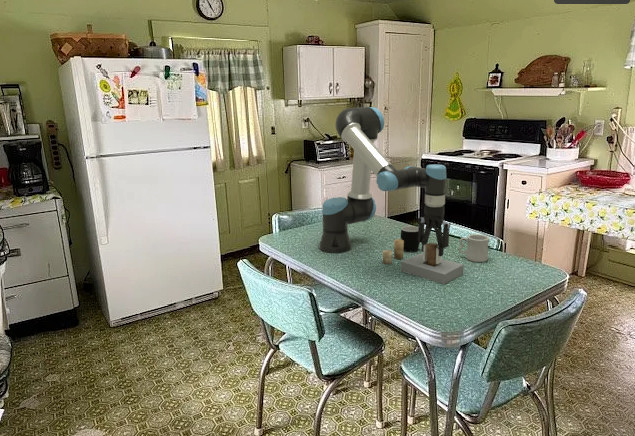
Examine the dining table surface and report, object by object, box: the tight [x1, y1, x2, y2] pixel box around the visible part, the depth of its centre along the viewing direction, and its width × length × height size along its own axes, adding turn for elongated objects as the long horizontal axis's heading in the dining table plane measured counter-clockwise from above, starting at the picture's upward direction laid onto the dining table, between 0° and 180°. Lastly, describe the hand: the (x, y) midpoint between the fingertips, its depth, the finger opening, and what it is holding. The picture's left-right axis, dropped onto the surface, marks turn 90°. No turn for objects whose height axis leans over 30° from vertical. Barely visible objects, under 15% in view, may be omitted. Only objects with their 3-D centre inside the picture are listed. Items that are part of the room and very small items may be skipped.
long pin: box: [427, 242, 438, 267], centre depth 183 cm, size 4×4×12 cm
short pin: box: [382, 249, 393, 265], centre depth 196 cm, size 4×4×5 cm
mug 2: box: [458, 233, 490, 263], centre depth 198 cm, size 12×9×10 cm
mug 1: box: [400, 225, 421, 253], centre depth 212 cm, size 12×9×10 cm
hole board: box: [400, 252, 465, 285], centre depth 184 cm, size 20×14×4 cm
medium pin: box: [393, 238, 404, 260], centre depth 201 cm, size 4×4×8 cm
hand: (432, 261), depth 183 cm, fingers open, 5 cm apart
